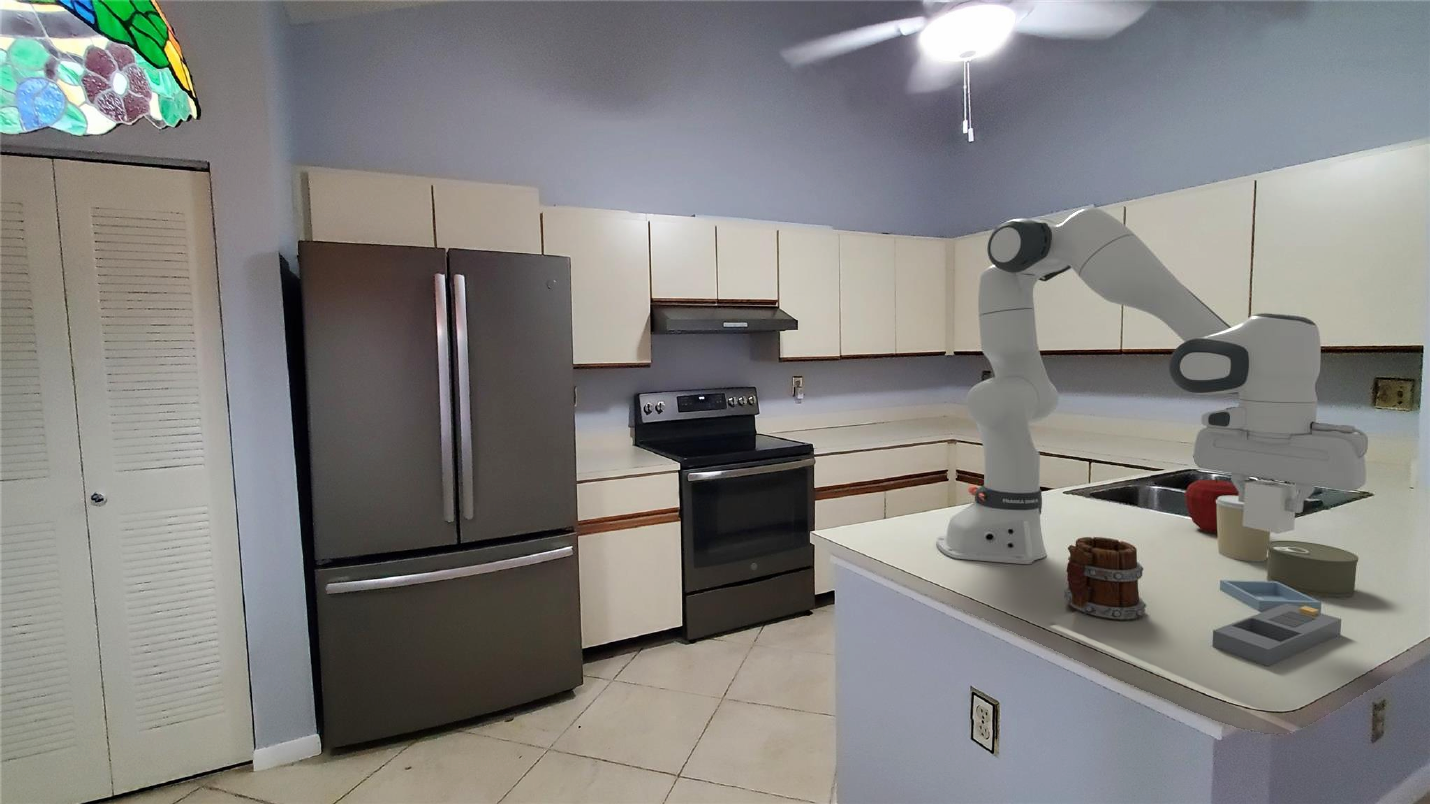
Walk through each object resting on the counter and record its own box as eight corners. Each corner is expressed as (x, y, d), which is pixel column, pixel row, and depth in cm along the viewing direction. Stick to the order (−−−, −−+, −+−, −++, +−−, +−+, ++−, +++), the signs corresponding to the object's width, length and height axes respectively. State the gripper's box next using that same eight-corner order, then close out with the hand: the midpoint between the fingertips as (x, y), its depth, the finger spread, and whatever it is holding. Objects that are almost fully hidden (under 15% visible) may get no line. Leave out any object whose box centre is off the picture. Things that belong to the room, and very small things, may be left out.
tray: (1258, 615, 100) (1259, 600, 100) (1219, 593, 109) (1220, 580, 109) (1320, 617, 99) (1321, 602, 99) (1275, 595, 108) (1276, 581, 108)
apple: (1250, 541, 138) (1253, 484, 137) (1186, 534, 144) (1188, 479, 143) (1241, 528, 148) (1244, 474, 147) (1181, 522, 154) (1183, 470, 153)
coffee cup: (1283, 564, 124) (1286, 506, 123) (1230, 561, 126) (1233, 505, 125) (1252, 549, 133) (1255, 495, 132) (1203, 547, 135) (1206, 494, 134)
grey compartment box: (1267, 672, 83) (1268, 645, 83) (1212, 651, 89) (1213, 626, 89) (1352, 633, 93) (1354, 610, 93) (1298, 617, 99) (1299, 595, 99)
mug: (1165, 615, 101) (1159, 530, 98) (1113, 649, 95) (1106, 559, 92) (1094, 591, 111) (1088, 514, 109) (1044, 620, 105) (1036, 539, 103)
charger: (1278, 533, 92) (1281, 487, 91) (1242, 525, 96) (1245, 481, 95) (1293, 529, 94) (1297, 484, 93) (1258, 522, 98) (1261, 479, 97)
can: (1374, 602, 105) (1377, 563, 104) (1290, 595, 108) (1292, 558, 108) (1326, 577, 117) (1328, 542, 116) (1251, 572, 120) (1253, 538, 119)
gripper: (1380, 425, 85) (1371, 521, 86) (1212, 411, 104) (1207, 491, 105) (1358, 428, 83) (1349, 527, 84) (1190, 413, 101) (1185, 495, 102)
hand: (1269, 507), depth 95 cm, fingers closed on charger, 4 cm apart
